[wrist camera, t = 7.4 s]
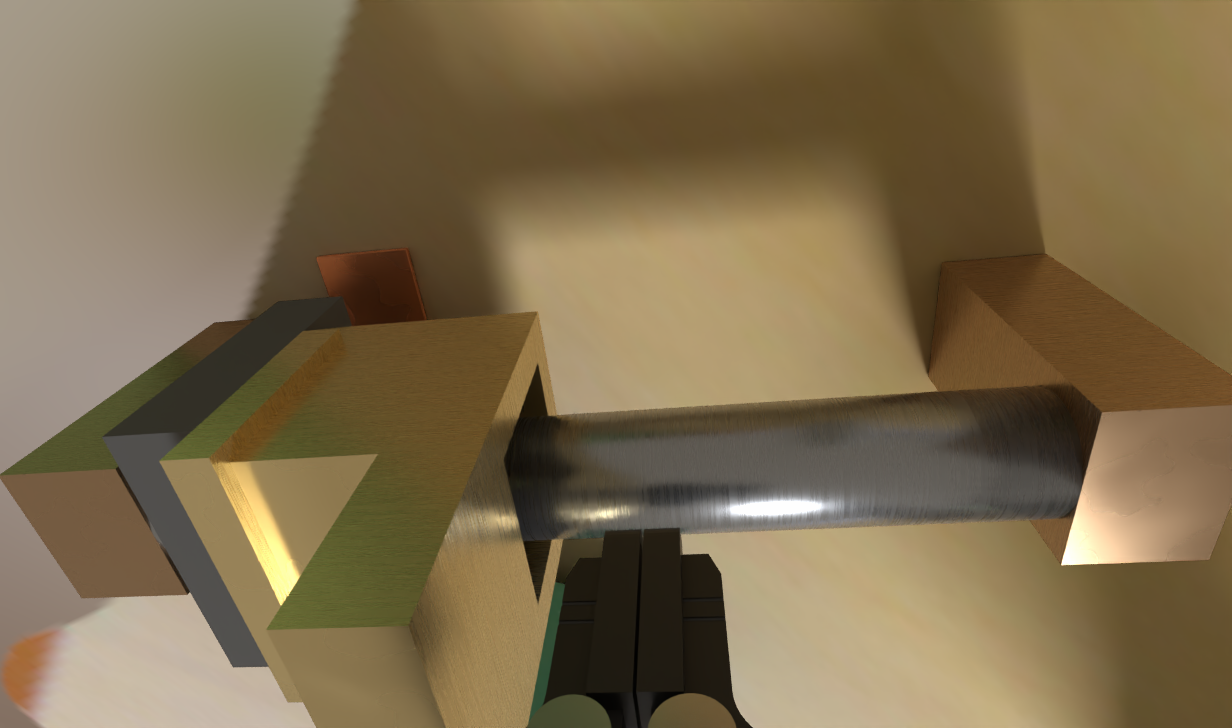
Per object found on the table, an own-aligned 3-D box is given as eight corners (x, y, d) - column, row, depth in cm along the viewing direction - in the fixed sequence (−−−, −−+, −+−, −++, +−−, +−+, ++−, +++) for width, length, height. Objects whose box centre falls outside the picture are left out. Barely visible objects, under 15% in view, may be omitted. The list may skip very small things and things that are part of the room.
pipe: (1059, 187, 19) (1312, 304, 12) (1013, 421, 23) (1183, 624, 15) (190, 267, 22) (-52, 402, 15) (275, 463, 26) (117, 650, 18)
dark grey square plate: (342, 296, 19) (192, 431, 13) (404, 486, 23) (307, 665, 17) (278, 301, 20) (101, 437, 14) (349, 489, 23) (233, 667, 17)
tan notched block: (535, 297, 18) (399, 604, 9) (573, 505, 21) (504, 883, 12) (320, 315, 18) (-15, 616, 9) (389, 513, 21) (192, 878, 12)
